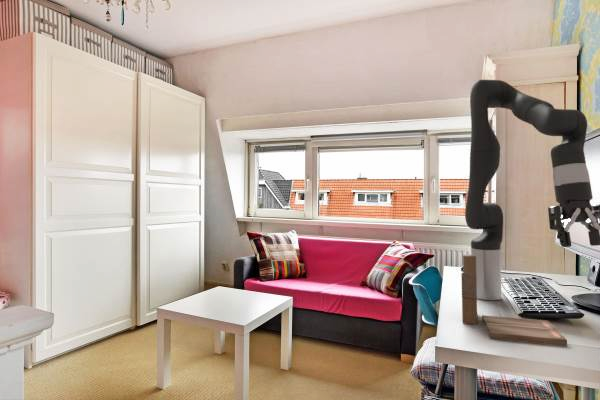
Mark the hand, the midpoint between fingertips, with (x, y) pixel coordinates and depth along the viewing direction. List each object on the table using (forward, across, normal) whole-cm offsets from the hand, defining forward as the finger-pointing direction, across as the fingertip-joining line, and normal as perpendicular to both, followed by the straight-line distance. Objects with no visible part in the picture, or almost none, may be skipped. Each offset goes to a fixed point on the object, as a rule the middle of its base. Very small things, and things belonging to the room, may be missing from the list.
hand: (581, 246), depth 90 cm
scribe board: (+22, +14, -8) cm, 27 cm away
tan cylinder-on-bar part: (+20, +20, -20) cm, 34 cm away
